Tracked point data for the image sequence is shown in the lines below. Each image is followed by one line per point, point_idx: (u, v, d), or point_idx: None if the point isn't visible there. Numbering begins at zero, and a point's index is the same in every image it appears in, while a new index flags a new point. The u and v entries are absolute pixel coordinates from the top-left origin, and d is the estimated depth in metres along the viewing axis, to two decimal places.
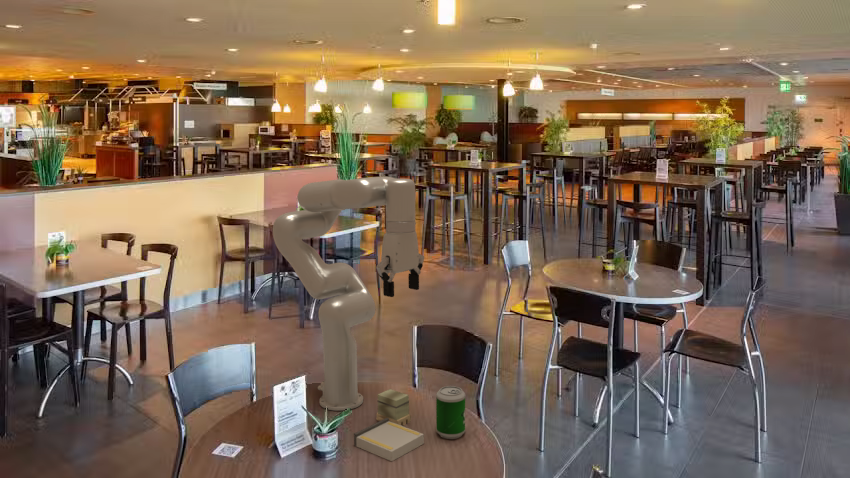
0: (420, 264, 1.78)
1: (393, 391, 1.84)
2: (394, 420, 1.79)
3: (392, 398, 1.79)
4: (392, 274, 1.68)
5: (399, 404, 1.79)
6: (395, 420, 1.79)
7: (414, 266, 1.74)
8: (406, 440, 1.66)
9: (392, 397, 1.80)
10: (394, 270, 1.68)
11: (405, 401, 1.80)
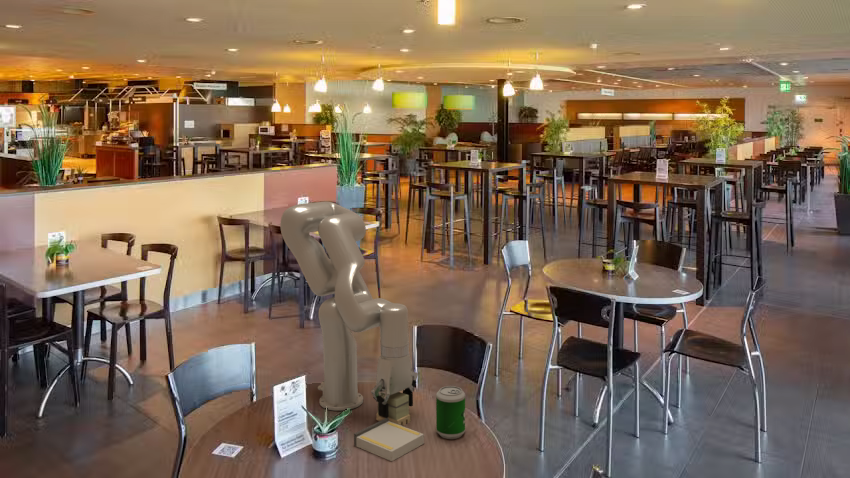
0: (414, 381, 1.85)
1: None
2: (394, 420, 1.79)
3: (392, 398, 1.79)
4: (386, 397, 1.76)
5: (399, 404, 1.79)
6: (395, 420, 1.79)
7: (408, 385, 1.81)
8: (406, 440, 1.66)
9: (392, 397, 1.80)
10: (388, 393, 1.76)
11: (405, 401, 1.80)
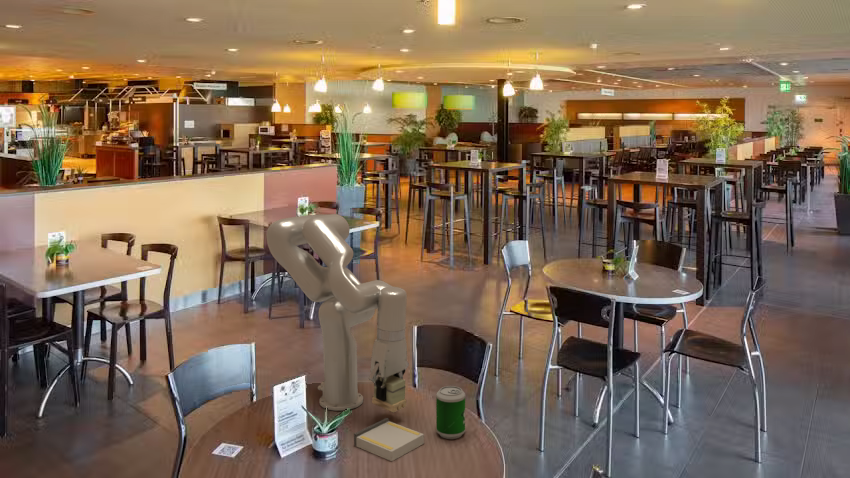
0: (403, 370, 1.85)
1: None
2: (390, 404, 1.79)
3: (389, 383, 1.79)
4: (384, 381, 1.78)
5: (395, 389, 1.79)
6: (391, 405, 1.79)
7: (402, 369, 1.82)
8: (406, 440, 1.66)
9: (389, 381, 1.80)
10: (382, 376, 1.76)
11: (401, 386, 1.80)
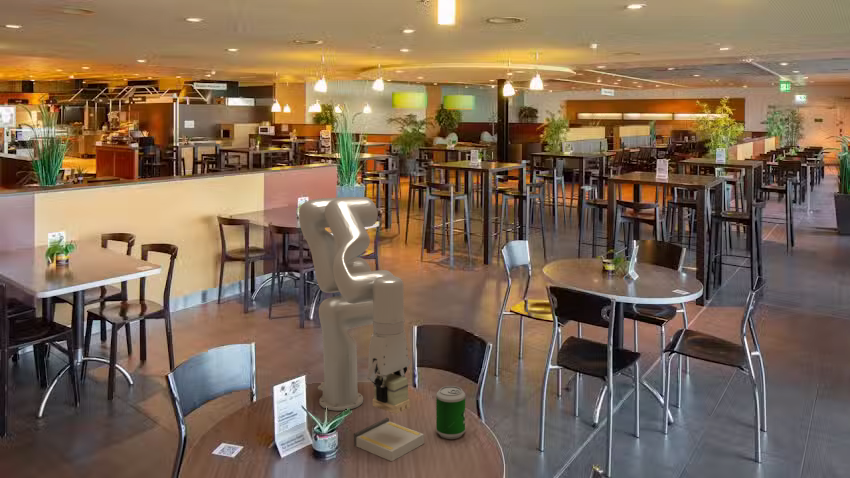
0: (404, 368, 1.69)
1: (391, 374, 1.68)
2: (392, 405, 1.63)
3: (389, 381, 1.63)
4: (384, 379, 1.62)
5: (397, 388, 1.63)
6: (393, 405, 1.63)
7: (403, 366, 1.66)
8: (406, 440, 1.66)
9: (389, 380, 1.64)
10: (382, 374, 1.61)
11: (403, 384, 1.64)
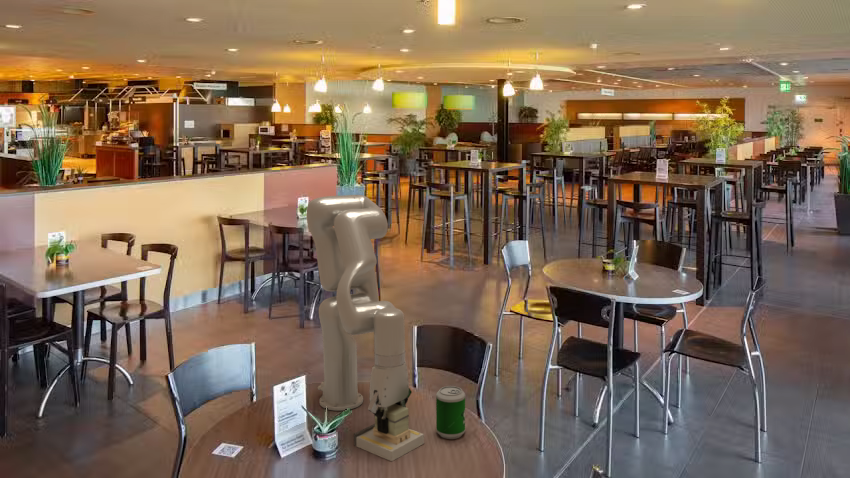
0: (405, 398, 1.70)
1: None
2: (392, 436, 1.64)
3: (390, 412, 1.64)
4: (385, 411, 1.63)
5: (398, 418, 1.64)
6: (393, 436, 1.64)
7: (404, 397, 1.67)
8: (406, 440, 1.66)
9: (390, 411, 1.65)
10: (383, 405, 1.62)
11: (404, 415, 1.66)
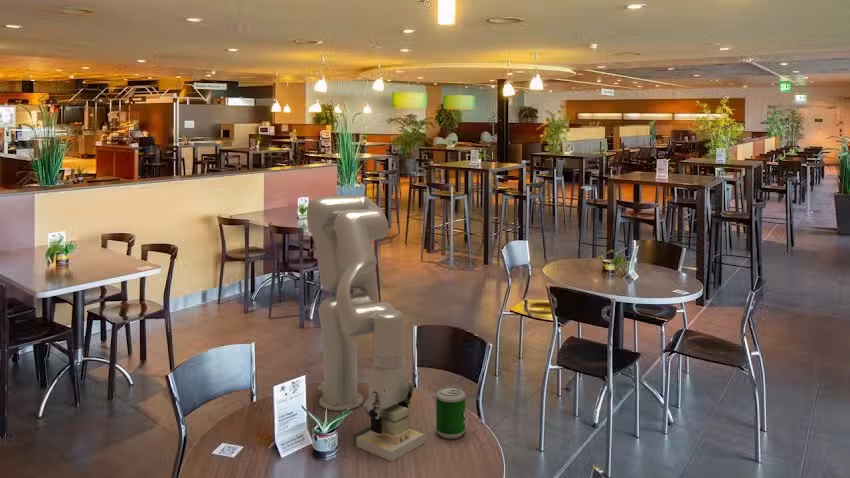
0: (409, 393, 1.72)
1: None
2: (392, 436, 1.64)
3: (390, 412, 1.64)
4: (380, 411, 1.62)
5: (398, 418, 1.64)
6: (393, 436, 1.64)
7: (403, 398, 1.68)
8: (406, 440, 1.66)
9: (390, 411, 1.65)
10: (382, 407, 1.62)
11: (404, 415, 1.66)
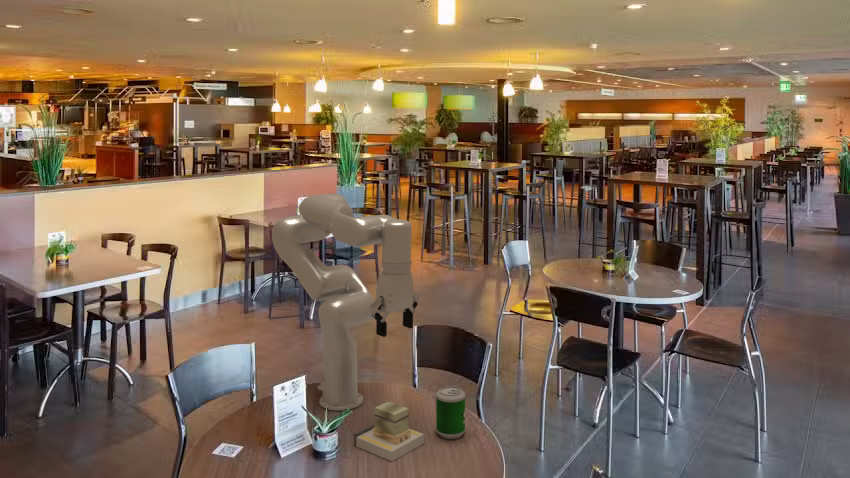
0: (415, 303, 1.79)
1: (392, 404, 1.69)
2: (392, 436, 1.64)
3: (390, 412, 1.64)
4: (385, 314, 1.70)
5: (398, 418, 1.64)
6: (393, 436, 1.64)
7: (408, 306, 1.75)
8: (406, 440, 1.66)
9: (390, 411, 1.65)
10: (387, 311, 1.70)
11: (404, 415, 1.66)
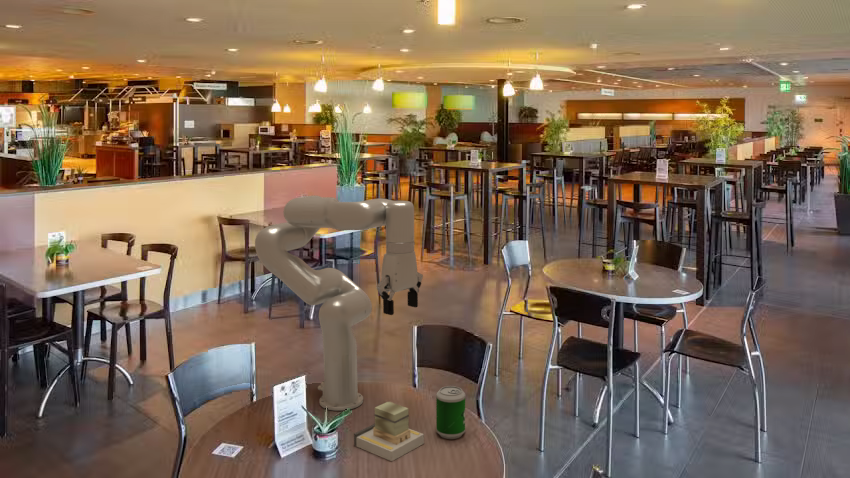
0: (419, 282, 1.84)
1: (392, 404, 1.69)
2: (392, 436, 1.64)
3: (390, 412, 1.64)
4: (392, 293, 1.75)
5: (398, 418, 1.64)
6: (393, 436, 1.64)
7: (413, 285, 1.80)
8: (406, 440, 1.66)
9: (390, 411, 1.65)
10: (394, 289, 1.75)
11: (404, 415, 1.66)
